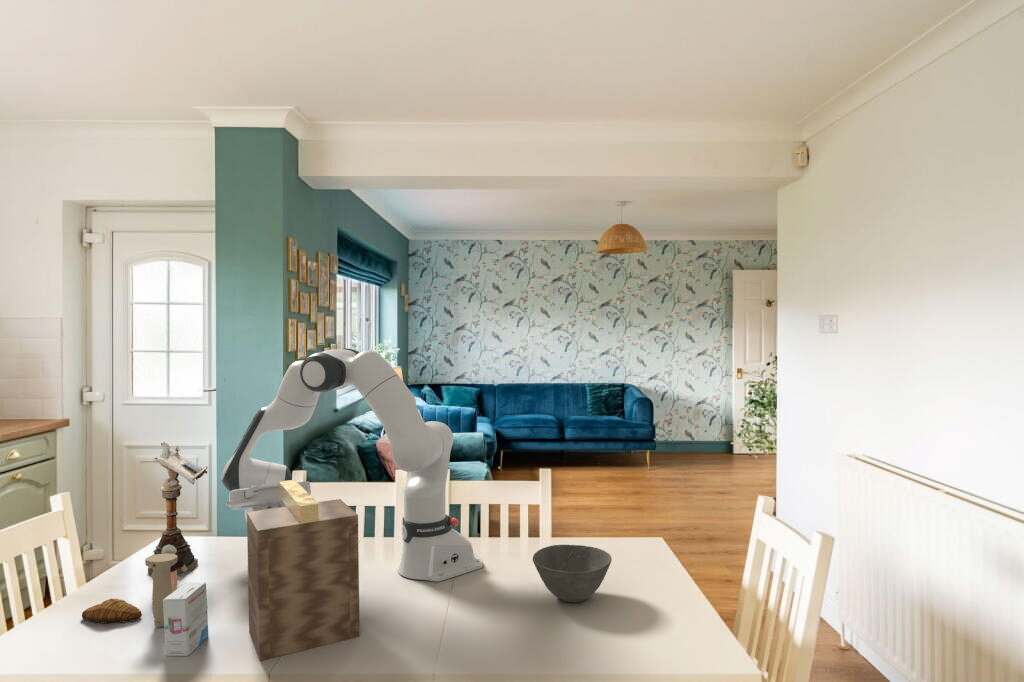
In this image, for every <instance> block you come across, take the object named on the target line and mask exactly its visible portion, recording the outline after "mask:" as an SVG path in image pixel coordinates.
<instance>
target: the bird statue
mask: <svg viewBox="0 0 1024 682" xmlns="http://www.w3.org/2000/svg"><path fill="white" fill-rule="evenodd" d="M160 446H161V448H162V451H161V453H160V456H155V457H154V461H155V462H157V463H158V464H160V465H161V467H163V468H165V469H166V470H167V474H168V476H169V477H167V478H166V479H164V481H163V482H162V485H163V486H162V487H160V491H161V492H162V493H161V497H162V498H163V499H165V504H166V512H165V513H164V515H165V516H166V528H165V529H163V531H162V532H161V537H160V539H159V542H158V544H157V545H155V549H154V550H153V555H155V554H162V548H163V547H164V546H166V545H169V544H170V545H173V546H174V547H175V548H176V550H177V552H176V554H175V555H177V559H179V560H181V561H183V562H184V563H185V566H186V568H187V571H185V572H184V571H183V570H182V569H181V568H179V567H176V570H177V576H181V575H184V574H187V573H190V572H192V571H193V570H194V569H195V568H197V566H198V565H199V561H198V558H196V557H195V555H194V553H193V552H192V549H191V545H190V544H188V543H189V542H188V541H186V539H185V538H184V536H183V533H182V530H181V528H179V527H178V526H177V523H178V522H177V516H178V514H179V512H178V511H177V501H178V498H179V497H181V489H182V485H181V484H179V483H180V480H179V479H178V477H179V476H181V477H183V478H184V479H186V480H187V481H188V482H189V483H190V484H192V485H194V486H195V483H196V480H199V479H200V478H202V477H203V476H204V475H205V474H208V471H207V470H208V466H205V467H204V468H202V467H200V466H198V465H196V464H195V463H193V462H192V461H189V460H188V459H186V458H185V457H183V456H181V454H180V453H179V451H181V448H179V445H177V446H176V448H174V449H173V450H171V449H170V448H171V447H170V445H169V443H167V442H164V441H161V442H160ZM147 573H148V575H150V576H151V575H152V573H153V569H152V568H150V567H148V566H147Z"/></svg>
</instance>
